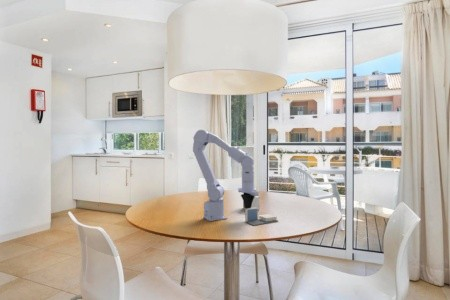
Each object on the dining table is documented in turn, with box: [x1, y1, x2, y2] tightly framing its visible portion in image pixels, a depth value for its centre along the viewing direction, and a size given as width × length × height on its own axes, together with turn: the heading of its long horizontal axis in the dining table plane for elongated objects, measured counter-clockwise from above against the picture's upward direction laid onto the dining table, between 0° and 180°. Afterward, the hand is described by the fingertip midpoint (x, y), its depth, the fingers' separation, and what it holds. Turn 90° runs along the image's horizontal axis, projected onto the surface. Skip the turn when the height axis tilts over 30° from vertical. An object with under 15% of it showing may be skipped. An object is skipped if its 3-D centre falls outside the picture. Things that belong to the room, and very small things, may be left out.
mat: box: [245, 218, 279, 227], centre depth 132 cm, size 14×6×1 cm, turn 119°
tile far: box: [258, 213, 278, 222], centre depth 135 cm, size 6×2×6 cm
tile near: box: [244, 207, 259, 223], centre depth 135 cm, size 6×2×6 cm, turn 119°
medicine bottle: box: [242, 187, 261, 211], centre depth 160 cm, size 7×7×12 cm
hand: (248, 209), depth 137 cm, fingers closed
